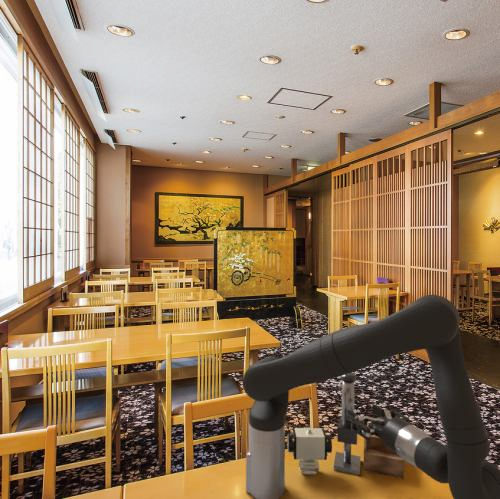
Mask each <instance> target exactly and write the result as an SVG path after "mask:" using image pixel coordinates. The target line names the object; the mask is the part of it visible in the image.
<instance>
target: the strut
mask: <svg viewBox="0 0 500 499" xmlns="http://www.w3.org/2000/svg"><path fill="white" fill-rule="evenodd" d="M340 380H341V418H338V423H337V438H336V439H337V441H336V442H339V443H343V444H344V443H349V444H351V445H355V446H357V445H358V436H359V434H357V433H356V432H354V431H353V430H351V421H350V420H348V419H347V410H351V411H352V412H354V413H355V382H356V381H357V375H356V373H355V372H352V373H349V374H345V375H342V376H340Z"/></svg>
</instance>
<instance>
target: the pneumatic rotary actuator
mask: <svg viewBox="0 0 500 499" xmlns="http://www.w3.org/2000/svg"><path fill="white" fill-rule="evenodd" d="M291 430H292V431H290V434H287V435H286V438H287V440H286V445H287V446H286V447H287V452H288V453H292V457H293V460H299V461H298V468H299V471H301V474H302V475H304V476H305V475H306V476H309V475H310V476H315V475H317V474H318V473H317V471H320V464H319V461H327V460H328V459H327V458H328V457H329V454H331V453H332V452H333V443H332V437H331V435H330V434H326V431H325V428H323V427H322V428H321V427H318V428H316V427H315V428H314V427H310V426H309V427H306V426H305V427H292V429H291Z"/></svg>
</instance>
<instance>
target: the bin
mask: <svg viewBox="0 0 500 499" xmlns="http://www.w3.org/2000/svg"><path fill="white" fill-rule="evenodd" d="M404 462H405V460H404V459H403V458H401V457H400V456H398V455H397V454H396V453H394V452H393V451H391V450H390V449H389V448H387V447H386V446H385V444H384V443H383V441H382V439H381V438H379V437H377V436H375V435H373V436H370V440H366V439H365V438H363V471H364V472H368V473H373V474H378V475H383V476H387V477H391V478H396V479H402V480H403V479H404V475H405V474H404V470H405V469H404V466H405V464H404Z"/></svg>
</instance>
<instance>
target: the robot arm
mask: <svg viewBox="0 0 500 499" xmlns="http://www.w3.org/2000/svg"><path fill="white" fill-rule="evenodd" d="M460 322H461V318H460V312H459V310H458V309H457V307H456V306H455V305H454V303H452V301H450V300H449V299H447V298H446V297H444V296H442V295H437V294H427V295H423V296H420V297H419V298H417V299H416V300H415V301H413V302H411V303H410V304H408V305H407V306H404V308H402V309H399V310H398V311H396V312H394V313H391V314H390V315H387V316H385V317H383V318H381V319H379V320H376V321H373V322H369V323H364V324H359V325H358V324H357V325H353V326H349V327H345V328H342V329H338V330H335V331H332V332H330V333H328V334H325V335H323V336H319V337H318V338H315V339H314V340H312V341H310V342H308V343H306V344H305V345H302V346H301V347H299V348H297V349H295V350H294V351H293V352H290V353H289V354H287V355H285V356H283V357H281V358H279V357H277V356H266V357H263V358H262V359H260V360H258V361H257V362H255V363H253V364H251V365H250V366H249V367H248V368H247V369H246V371H245V372H244V374H243V377H242V388H243V391H244V393H245V394H246V395H247V396H248V397H249V398H250V399H252V400H254V401H253V404H252V406H251V408H250V410H249V414H248V450H247V452H246V456H245V492H246V493H248V494H249V495H251V496H252V497H253V498H255V499H280V498H282V496H283V495H284V494H285V490H286V489H285V485H286V482H285V480H286V479H285V475H286V472H285V471H286V470H285V468H286V466H285V465H286V459H285V458H286V451H285V450H286V417H287V413H288V410H289V398H290V397H289V396H290V391H291V390H294V389H296V388H300V387H304V386H308V385H312V384H317V383H320V382H324V381H328V380H330V379H331V380H332V379H334V378H338V377H339V378H340V377H341V376H342V375H345V374H349V373H355V372H357V371H359V370H362V369H365V368H367V367H368V368H369V367H371V366H372V365H375V364H377V363H380V362H382V361H384V360H386V359H388V358H391V357H394V356H397V355H402V354H406V353H411V352H416V351H420V350H421V351H422V350H425V351H426V354H427V358H428V361H429V364H430V368H431V372H432V373H431V374H432V378H433V385H434V393H435V398H436V405H437V410H438V415H439V418H440V424H441V426H442V430H443V434H444V437H445V440H446V444H447V446H446V445H445V444H443V443H442V442H440V441H438V440H437V439H435V438H433V437H432V436H431V435H429V434H428V433H427V432H425V431H424V430H423V429H421V428H419V427H417V426H415V425H414V424H412V423H411V420H410V418H409V417H407V416H406V415H405V414H403V413H401V412H399V411H398V410H396V409H392V408H391V410H388V409H386V408H385V409H384V408H382V407H381V406H379V405H377V404H372V406H371V411H372V414H375V415H376V416H377V417H371V416H365V417H364V416H359V415H358V414H356V413H355V411H354V412H352V411H351V410H347V419H348V420H350V421H351V430H353V431H354V432H356V433H357V434H358V436H360V437H362V438H363V439H364V438H365V439H366V440H370V436H377V437H379V438H381V439H382V441H383V443H384V444H385V446H386V447H387V448H389V449H390V450H391V451H393V452H394V453H396V454H397V455H398V456H400V457H401V458H403V459H404V462H406V463H408V464H410V465H412V466H414V467H415V468H417V469H419V470H420V471H422V472H423V473H424V474H426V475H427V476H429V477H430V478H431V479H433V480H434V481H435V482H437V483H440V484H448V488H449V490H450V494H451V496H452V498H453V499H500V468H498V467H497V466H496V465H495V464H493V463H491V462H489V461H488V460H486V459H487V457H488V456H489V454H490V451H491V446H490V440H489V438H488V434H487V430H486V427H485V423H484V420H483V417H482V413H481V411H480V407H479V405H478V401H477V398H476V396H475V392H474V389H473V386H472V383H471V380H470V376H469V373H468V369H467V366H466V362H465V358H464V353H463V348H462V340H461V331H460V324H461V323H460ZM369 422H370V427H369Z"/></svg>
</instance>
